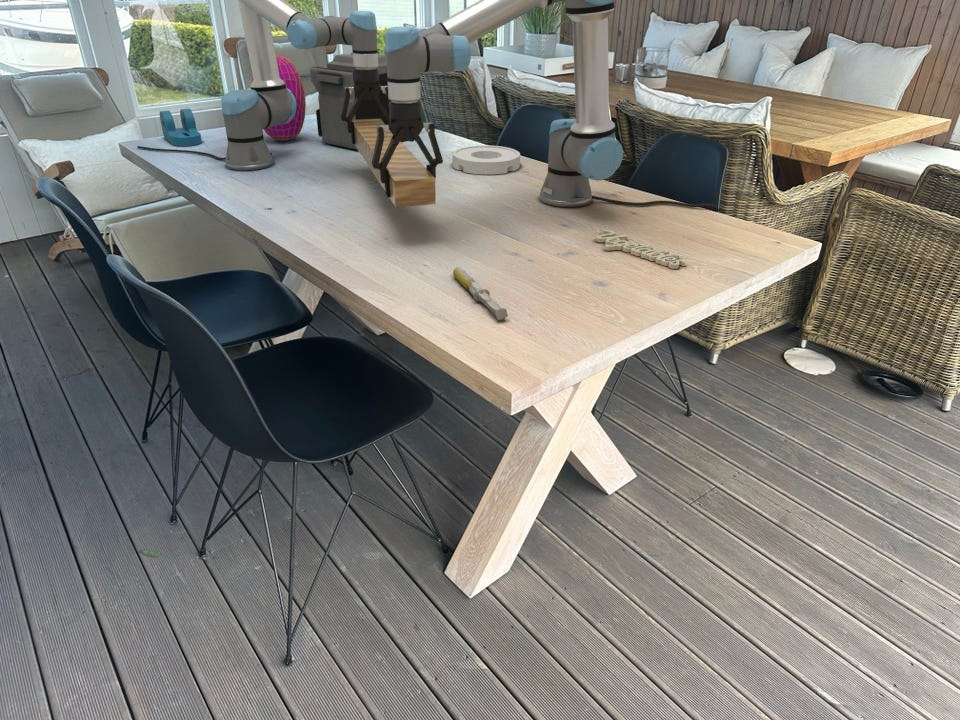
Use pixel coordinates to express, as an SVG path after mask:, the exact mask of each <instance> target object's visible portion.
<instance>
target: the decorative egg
mask: <svg viewBox="0 0 960 720" xmlns="http://www.w3.org/2000/svg"><path fill="white" fill-rule="evenodd" d="M276 59H277V65H278V70H279V76H280V78H281V80H283V81H284V82H285V84H286V88H287V89H289V90H290V91H291V92H292V94H293V95H294V97H295V100H296V113H295V116H294V117H293V119H292V120H291V121H290V122H288V123H285V124H283V125H281V126H274V127H270V128H266V129H263V132H264V133H266V135H267V136H268V137H270V138H271V139H273V140H275V141H282V142H286V141H291V140H293V139H296V138H297V137H298V136H299V134H301V131H302V129H303V127H304V123H305V118H306V104H307V103H306V102H307V101H306V99H307V97H306V93H305V88H304V84H303V81H302V77H301V75H300V73H299V71H298V69H297V67H296V66H295V65H294V63H293V62H292V61H291V60H290V59H288V58H287V57H285V56H282V55H280V54H276ZM253 81H254V79H253V76H252V77H251V83H252V82H253Z"/></svg>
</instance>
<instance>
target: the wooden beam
mask: <svg viewBox="0 0 960 720" xmlns="http://www.w3.org/2000/svg"><path fill="white" fill-rule="evenodd" d="M352 121H353V122H354V132H355V146H356V147H357V149H358V150H357V151H358V152H359V154H360V155H361V157H362V159H364V161H365V162H366V164H367V166H368V168H369V169H370V171H371V172H372V173H373V175H374V176H375V178H376V180H377V182H379V184H380V186H381V187H382V189H383V190H384V191H385V183H382V182H381V180H380V170H379V169H375V168H374V167H373V166H372V159H373V154H374V149H375V144H376V140H377V135H378V134H377V125H381V126H383V125H386V124H385V123H384V122H383V121H382V120H381V119H362V120H352ZM392 136H393V134H392V133H391V132H390V130H388V131H387V134H386V135H384V142H383V146H382V151H381V156H380V160H379V163H380V162H381V160H382V158H383V156H384V154H385V152H386V150H387V148H388V146H389V144H390V141H391V138H392ZM351 139H352V138H351ZM386 168H387V169H388V170H389V182H390V197H388V198H389V199H390V201H391V203H392V204H393V205H394V207H395V208H407V207H418V206H429V205H430V206H431V205H436V204H437V203H436V201H437V199H436V197H437V196H436V178H434V176H433V175H432V174H431V173H430V172H429V171H428V170H427V169H426V166H425V165H424V164H423V163H422V162H421V161H420V160H419V159H418V157H416V156H415V155H414V153H412V151H410V149H409V148H408V147H407V146H406V145H405V144H404V142H399V144H398V146H397V147H396V149H395V151H394V153H393V155H392V157H391V159H390V161H389V163H388V165H387V167H386Z"/></svg>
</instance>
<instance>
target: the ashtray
mask: <svg viewBox="0 0 960 720" xmlns="http://www.w3.org/2000/svg"><path fill="white" fill-rule="evenodd" d="M451 154H452V155H451V156H452V161H451V162H452V168H453V169H455V170H457V171H463V173H466V174H474V175H485V176H486V175H502V174H507V173H508V172H515V171H517V170H519V169H520V166H521V153H520V151H518V150H516V149H514V148H512V147H507V146H500V145H487V144H486V145H468V146H464V147H459V148H456V149H454V150H453V151H452V153H451Z"/></svg>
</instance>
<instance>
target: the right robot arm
mask: <svg viewBox="0 0 960 720" xmlns="http://www.w3.org/2000/svg"><path fill="white" fill-rule="evenodd" d="M560 2H564V3H565V4H564V5H565V6H564V7H565V15H566V16H567V17H568V18H569V19H570V20H571V23H572V48H573V49H572V50H573V51H572V53H573V76H574V77H573V78H574V100H575V101H574V103H575V105H574V107H575V118H561V119H554V120H553V121H552V122H551V124H550V127H549V128H550V129H549V133H548V136H549V141H548V142H549V143H548V156H547V158H548V159H547V173H546V176H545V178H544V181H543V184H542V187H541V189H540V192H539V200H540V202H542V203H543V204H546V205H549V206H553V207H558V208H559V207H560V208H580V207H584V206H588V205H589V204H591V203H592V199H593V200H596V201H601V202H606V203H611V204H617V205H623V206H635V207H645V206H650V205H662V204H663V205H674V206H681V207H687V208H706V207H707V208H712V209H713V210H715V212H721V210H720V207H718V206H717V205H716V204H712V203H695V204H694V203H687V202H681V201H673V200H652V201H643V202H635V201H633V202H632V201H623V200H616V199H612V198H611V199H610V198H606V197H601V196H596V195H593V193H592V188H591V184H590V180H592V181H597V182H598V181H604V180H607V179H608V178H610V177H612V176H613V175H614V174H615V172H616V171H617V170H618V169H619V168H620V166H621V164H622V161H623V157H624V150H623V146H622V144H621V143H620V141H619V140H618V139H616V123H615V122H614V121H613V120H612V119H610V93H609V92H610V83H609V82H610V81H609V80H610V77H609V76H610V74H609V73H610V72H609V71H610V70H609V69H610V68H609V17H610V15H611V14H612V13H613V11H614V10H615V0H478V1H477V2H475V3H473V4H471V5H469V6H467V7H466V8H463V9H461V10H460V11H457V12H456V13H454V14H453V15H450V16H449V17H447V18H445V19H444V20H442V21H440V22H439V23H436V24H433V25H432V26H431V27H429V28H421V29H418V28H417V27H415V26H391V27H389V28H387V29H386V31H385V36H384V38H385V39H384V41H385V43H384V47H385V49H384V52H385V55H386V63H387V78H388V98H389V99H390V100H391V101H390V102H389V117H390V121H389V124H388V125H383V126H381V125H377V134H378V135H377V140H376V144H375V149H374V154H373V159H372V166H373V167H374V168H375V169H379V170H380V180H381V182H382V183H385V190H384V194H385V196H386V198H389V197H390V182H389V170H388V169H387V168H386V167H387V165H388V163H389V161H390V159H391V157H392V155H393V153H394V151H395V149H396V147H397V146H398V144H399V142H402V143H406V142H410V143H412V142H414V141H415V143H416V145H417V146H418V147H419V149H420V151H421V153H422V155H424V157H425V159H426V161H427V162H428V164H426V166H425V168H426V169H427V170H428V171H429V172H430V173H431V174H432V175H433V176H434V178H435V179H437V168H438V167H437V166H438V165H442V164H443V163H444V160H443V156H442V153H441V149H440V147H439V143H438V140H437V137H436V124H434V123H433V122H432V121H429V122H423V120H422V102H421V101H420V99H421V98H422V97H421V96H422V95H421V94H422V93H421V73H432V72H434V73H436V72H454V73H455V72H459V71H466V70H467V69H468V68H469V66H470V64H471V58H472V51H471V44H472V43H474V42H475V41H478V40H479V39H481V38H483V37H485V36H486V35H488V34H490V33H492V32H494V31H495V30H497V29H500V28H501V27H504V25H505V26H506V25H507V24H509V23H510V22H512V21H514V20H516V19H518V18H520V17H521V16H523V15H525V14H527V13H529V12H531V11H532V10H534V9H536V8H538V7H539V8H542V9H545V8H547V7H549V6H551V5H553V4H555V3H560ZM423 129H424V130H425V132H426V133H427V135H428V139H429V142H430V145H431V148H432V151H433V155H434V158H433V156H432V155H431V152H430V151H429V150H428V148H427V146H426V144H425V143H424V142H423V140H422V138H421V136H420V134H421V132H422V131H423ZM388 130H390V132H391V133H392V134H393V136H392V138H391V141H390V144H389V146H388V148H387V150H386V152H385V154H384V156H383V158H382V160H381V162H380V163H379V160H380V156H381V151H382V146H383V142H384V135H386V134H387V131H388Z"/></svg>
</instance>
